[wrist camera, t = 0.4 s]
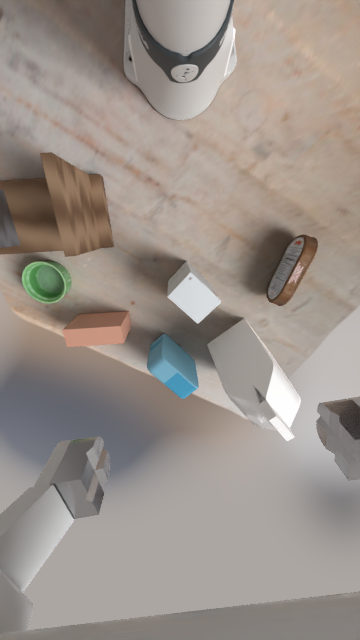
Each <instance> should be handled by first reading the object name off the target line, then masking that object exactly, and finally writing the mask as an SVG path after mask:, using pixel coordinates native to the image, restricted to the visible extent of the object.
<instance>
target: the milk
mask: <svg viewBox="0 0 360 640" xmlns="http://www.w3.org/2000/svg"><path fill="white" fill-rule="evenodd" d="M207 345H208V348H209V351H210V353H211V356H212V359H213V361H214V364H215V367H216V369H217V372H218V375H219V377H220V380H221V382H222V385H223V388H224V390H225V392H226V393H227V395H228V397H229V398H230V399H231V400H232V402H233V403H234V404H235V405H236V406H237V407H238V408H239V409H240V410H241V411H242V412H243V413H244V415H245V416H246V417H247V418H248V419H249V420H250V421H251V422H252V423H253V424H255V425H256V426H258V427H261V428H265V429H271V430H276V431H279V433H280V434H281V435H282V436H283V437H284V438H285V439H286V440H287V441H288V440H290V439H292V438H294V435H293V433H292V431H291V429H290V426H291V424H292V422H293V420H294V418H295V415H296V413H297V411H298V409H299V406H300V403H301V399H300V396H299V395H298V393H297V391H296V390H295V389H294V387H293V386H292V384H291V383H290V381H289V380H288V378H287V377H286V375H285V374H284V372H283V371H282V369H281V368H280V366H279V365H278V363H277V362H276V360H275V359H274V357H273V356H272V354H271V353H270V351H269V350H268V349H267V347H266V346H265V345H264V343H263V342H262V341H261V339H260V338H259V337H258V335H257V334H256V333H255V331H254V330H253V329H252V327H251V326H250V325H249V323H248V322H247V321H246V319H245V318H244V319H242V320H241V321H239V322H238V323H237V324H235V325H234V326H232V327H231V328H229V329H228V330H227V331H225V332H224V333H222V334H221V335H219V336H218V337H217V338H215V339H214V340H212V341H211V342H209V343H208V344H207Z"/></svg>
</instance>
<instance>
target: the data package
mask: <svg viewBox="0 0 360 640" xmlns="http://www.w3.org/2000/svg"><path fill="white" fill-rule="evenodd" d="M147 368H148V370H149V371H150V373H152V374H153V375H154V376H155V377H156V378H157V379H159V380H160V381H161V382H162V383H164V384H165V385H166V386H167V387H168V388H170V389H171V390H172V391H173V392H174V393H176V394H177V395H178V396H179V397H181V398H183V399H184V398H185V397H186V396H188V395H189V394H191V393H192V392H193V391H195V390H196V389H197V388H198V387H199V385H198V378H197V372H196V366H195V362H194V360H193V359H192V358H191V357H190V356H189V355H188V354H187V353H186V352H185V351H184V350H183V349H182V348H181V347H180V346H179V345H177V344H176V343H175V342H174V341H173V340H172V339H171V338H170V337H169V336H168V335H166V334H162V335H161V336H160V337H159V338H158V339H157V340H155V341H154V342H153V343H152V344H151V347H150V352H149V357H148V363H147Z"/></svg>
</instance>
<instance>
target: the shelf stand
mask: <svg viewBox="0 0 360 640" xmlns="http://www.w3.org/2000/svg"><path fill="white" fill-rule="evenodd" d="M40 155H41V160H42V164H43V168H44V172H45V176H46V178H37V179H22V180H6V181H0V254H15V253H31V252H46V251H62V250H64V254H65V257H66V256H76V255H80V254H83V253H87V252H90V251H93V250H97V249H100V248H108V247H114V244H113V237H112V231H111V225H110V219H109V213H108V207H107V201H106V194H105V188H104V182H103V177H102V176H101V175H100V174H99V175H88V174H86V173H84V172H83V171H81V170H79V169H78V168H76V167H74V166H73V165H71V164H70V163H68V162H66V161H65V160H63V159H61V158H60V157H58V156H56V155H55V154H53V153H40Z"/></svg>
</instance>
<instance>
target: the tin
mask: <svg viewBox="0 0 360 640" xmlns="http://www.w3.org/2000/svg"><path fill="white" fill-rule="evenodd" d="M317 248H318V242H317V239H316V238H314V237H310V236H307V235H300V236H297V237H296V238H295V239H294V240H293V241H292V242H291V243H290V244H289V246H288V247H287V249H286V251H285V253H284V254H283V256H282V258H281V260H280V262H279V264H278V266H277V268H276V270H275V272H274V274H273V276H272V278H271V280H270V283H269V285H268V289H267V299H268V300H269V302H271V303H274V304H277V305H278V306H283V305H285V304H286V303H287V302H288V301H289V300H290V299H291V298H292V297H293V295H294V293H295V292H296V290H297V288H298V286H299V284H300V283H301V281H302V279H303V277H304V275H305V273H306V272H307V270H308V268H309V266H310V264H311V263H312V261H313V259H314V257H315V255H316V252H317Z"/></svg>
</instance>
